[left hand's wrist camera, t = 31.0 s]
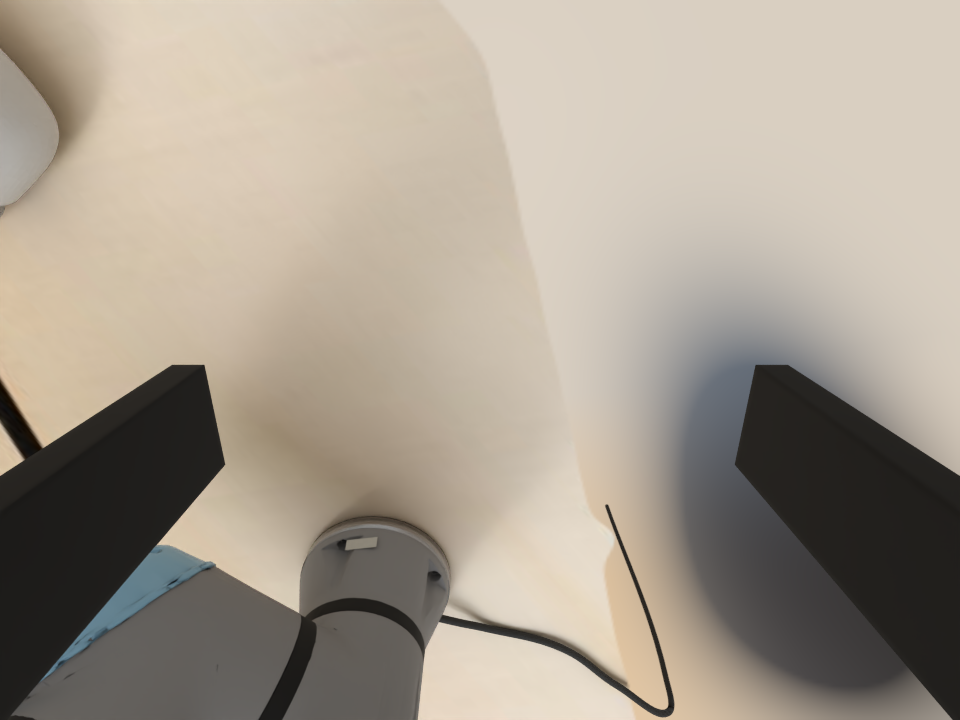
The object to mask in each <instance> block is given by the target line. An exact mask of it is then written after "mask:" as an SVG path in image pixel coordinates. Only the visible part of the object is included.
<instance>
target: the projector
mask: <svg viewBox="0 0 960 720" xmlns="http://www.w3.org/2000/svg"><path fill="white" fill-rule="evenodd" d="M58 142H59V130H58V124H57V121H56V119H55V117H54V115H53V113H52V111H51V109H50V107H49V106H48V104H47V103H46V102H45V100H44V99H43V97H42V96H41V94H40V93H39V92H38V91H37V89H36V88H35V87H34V85H33V84H32V83H31V82H30V80H29V79H28V78H27V77H26V76H25V75H24V74H23V72H22V71H21V70H20V69H19V68H18V67H17V66H16V64H15V63H14V62H13V61H12V60H11V59H10V58H9V57H8V56H7V55H6V54H5V53H4V52H3V51H2V49H1V48H0V217H1V216H2V214H3V212H4V209H5V205H9V204H12V203H14V202H16V201H17V200H18V199H19V198H20V197H21V196H22V195H23V194H24V193H25V192H26V191H27V190H28V189H29V188H30V187H31V186H32V185H33V184H34V183H35V182H36V181H37V180H38V178H39V177H40V176H41V175H42V174H43V173H44V171H45V170H46V169H47V167H48V166H49V165H50V163H51V161H52V160H53V158H54V155H55V153H56V150H57V147H58Z"/></svg>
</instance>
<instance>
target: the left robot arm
mask: <svg viewBox="0 0 960 720" xmlns="http://www.w3.org/2000/svg"><path fill="white" fill-rule="evenodd" d="M224 465H225V462H224V457H223V452H222V447H221V442H220V438H219V433H218V428H217V423H216V418H215V414H214V409H213V404H212V399H211V394H210V390H209V385H208V380H207V375H206V371H205V366H204V365H171V366H170V367H168V368H167V369H165V370H164V371H162V372H161V373H159V374H157V375H156V376H154V377H153V378H151V379H150V380H148V381H147V382H145V383H143V384H142V385H140V386H139V387H137V388H136V389H134V390H133V391H131V392H130V393H128V394H126V395H125V396H123V397H122V398H120V399H119V400H117V401H116V402H114V403H113V404H111V405H109V406H108V407H106V408H105V409H103V410H102V411H100V412H99V413H97V414H95V415H94V416H92V417H91V418H89V419H88V420H86V421H85V422H83V423H82V424H80V425H78V426H77V427H75V428H74V429H72V430H71V431H69V432H68V433H66V434H65V435H63V436H61V437H60V438H58V439H57V440H55V441H54V442H52V443H51V444H49V445H48V446H46V447H44V448H43V449H41V450H40V451H38V452H37V453H35V454H34V455H32V456H30V457H29V458H27V459H26V460H24V461H23V462H21V463H20V464H18V465H17V466H15V467H13V468H12V469H10V470H9V471H7V472H6V473H4V474H3V475H1V476H0V720H418V711H419V701H420V691H421V682H422V672H423V662H424V654H425V649H426V647H427V645H428V642H429V640H430V638H431V636H432V634H433V632H434V630H435V628H436V626H437V624H438V622H441V623H446V624H450V625H455V626H459V627H464V628H469V629H475V630H480V631H484V632H489V633H493V634H498V635H503V636H508V637H513V638H518V639H523V640H527V641H531V642H535V643H539V644H542V645H545V646H548V647H551V648H554V649H556V650H559V651H561V652H563V653H565V654H567V655H569V656H571V657H573V658H574V659H576V660H578V661H579V662H581V663H582V664H583V665H585V666H586V667H587V668H588V669H590V670H591V671H592V672H593V673H595V674H596V675H597V676H598V677H600V678H601V679H602V680H604V681H605V682H607V683H608V684H609V685H611V686H613V687H614V688H616V689H617V690H619V691H620V692H622V693H623V694H625V695H626V696H627V697H629V698H630V699H631V700H633V701H634V702H635V703H637V704H638V705H639V706H641V707H642V708H644V709H645V710H647V711H648V712H650V713H652V714H653V715H656V716H658V717H668V716H670V715H671V714H672V713H673V711H674V706H675V704H674V697H673V692H672V688H671V685H670V681H669V677H668V673H667V669H666V665H665V660H664V657H663V653H662V650H661V646H660V643H659V639H658V636H657V633H656V630H655V627H654V624H653V621H652V618H651V615H650V612H649V610H648V607H647V604H646V601H645V599H644V596H643V593H642V591H641V588H640V585H639V583H638V580H637V578H636V575H635V573H634V570H633V568H632V565H631V562H630V560H629V558H628V555H627V552H626V550H625V547H624V545H623V542H622V540H621V537H620V535H619V532H618V530H617V527H616V524H615V522H614V519H613V516H612V514H611V511H610V508H609V505H608V504H606V505H605V508H606V510H607V513H608V516H609V519H610V522H611V524H612V527H613V530H614V532H615V535H616V538H617V540H618V543H619V545H620V548H621V551H622V553H623V556H624V558H625V561H626V564H627V566H628V569H629V571H630V574H631V577H632V579H633V582H634V585H635V587H636V590H637V593H638V595H639V598H640V601H641V604H642V607H643V609H644V612H645V615H646V618H647V621H648V624H649V627H650V630H651V634H652V637H653V640H654V644H655V648H656V651H657V655H658V659H659V663H660V667H661V671H662V676H663V680H664V684H665V688H666V692H667V697H668V707H667V709H665V710H660V709H657V708H654V707H653V706H651V705H649V704H648V703H646V702H645V701H643V700H642V699H641V698H639V697H638V696H637V695H635V694H634V693H633V692H631V691H630V690H629V689H627V688H626V687H624V686H623V685H621V684H620V683H618V682H617V681H615V680H614V679H612V678H611V677H609V676H608V675H607V674H605V673H604V672H603V671H601V670H600V669H599V668H598V667H596V666H595V665H594V664H593V663H591V662H590V661H589V660H588V659H586V658H585V657H583V656H582V655H580V654H579V653H577V652H576V651H574V650H572V649H570V648H569V647H566V646H564V645H562V644H560V643H558V642H555V641H552V640H550V639H547V638H544V637H540V636H537V635H533V634H529V633H525V632H520V631H515V630H511V629H505V628H500V627H496V626H491V625H487V624H482V623H478V622H473V621H467V620H463V619H458V618H454V617H449V616H445V615H442V614H443V612H444V610H445V607H446V605H447V602H448V598H449V589H450V569H449V565H448V562H447V559H446V557H445V555H444V553H443V552H442V550H441V549H440V547H439V546H438V545H437V544H436V542H435V541H434V540H433V539H432V538H430V537H429V536H428V535H427V534H425V533H424V532H423V531H421V530H419V529H418V528H416V527H414V526H412V525H410V524H407V523H405V522H402V521H399V520H395V519H391V518H384V517H361V518H355V519H351V520H347V521H344V522H341V523H339V524H337V525H335V526H333V527H331V528H330V529H328V530H327V531H325V532H324V533H323V534H322V535H321V536H320V537H319V538H318V539H317V540H316V541H315V542H314V544H313V545H312V547H311V549H310V551H309V553H308V555H307V557H306V560H305V562H304V564H303V567H302V571H301V578H300V604H299V613H297V612H296V611H294V610H292V609H290V608H288V607H286V606H285V605H283V604H281V603H279V602H277V601H275V600H274V599H272V598H270V597H268V596H266V595H264V594H263V593H261V592H259V591H257V590H255V589H253V588H252V587H250V586H248V585H246V584H245V583H243V582H241V581H239V580H238V579H236V578H234V577H232V576H231V575H229V574H227V573H225V572H224V571H222V570H220V569H219V568H217V567H216V564H214V563H213V562H205V561H203V560H200V559H198V558H196V557H194V556H192V555H189V554H187V553H185V552H183V551H181V550H179V549H177V548H175V547H172V546H168V545H157V544H158V543H159V541H160V540H161V539H162V538H163V537H164V536H165V534H166V533H167V532H168V531H169V530H170V529H171V527H172V526H173V525H174V524H175V523H176V522H177V520H178V519H179V518H180V517H181V516H182V515H183V513H184V512H185V511H186V510H187V509H188V508H189V506H190V505H191V504H192V503H193V502H194V500H195V499H196V498H197V497H198V496H199V495H200V493H201V492H202V491H203V490H204V489H205V488H206V486H207V485H208V484H209V483H210V482H211V481H212V479H213V478H214V477H215V476H216V475H217V474H218V472H219V471H220V470H221V469H222V468H223V467H224ZM735 465H736V467H737V468H738V469H739V470H740V471H741V472H742V474H743V475H744V476H745V477H746V478H747V479H748V481H749V482H750V483H751V484H752V485H753V486H754V488H755V489H756V490H757V491H758V492H759V493H760V495H761V496H762V497H763V498H764V499H765V500H766V502H767V503H768V504H769V505H770V506H771V507H772V509H773V510H774V511H775V512H776V513H777V515H778V516H779V517H780V518H781V519H782V520H783V522H784V523H785V524H786V525H787V526H788V527H789V529H790V530H791V531H792V532H793V533H794V534H795V536H796V537H797V538H798V539H799V540H800V541H801V543H802V544H803V545H804V546H805V547H806V548H807V550H808V551H809V552H810V553H811V554H812V556H813V557H814V558H815V559H816V560H817V561H818V563H819V564H820V565H821V566H822V567H823V568H824V570H825V571H826V572H827V573H828V574H829V575H830V577H831V578H832V579H833V580H834V581H835V582H836V584H837V585H838V586H839V587H840V588H841V589H842V591H843V592H844V593H845V594H846V595H847V597H848V598H849V599H850V600H851V601H852V602H853V603H854V605H855V606H856V607H857V608H858V609H859V611H860V612H861V613H862V614H863V615H864V616H865V618H866V619H867V620H868V621H869V622H870V623H871V624H872V626H873V627H874V628H875V629H876V630H877V632H878V633H879V634H880V635H881V636H882V638H883V639H884V640H885V641H886V642H887V643H888V645H889V646H890V647H891V648H892V649H893V650H894V652H895V653H896V654H897V655H898V656H899V657H900V659H901V660H902V661H903V662H904V663H905V664H906V666H907V667H908V668H909V669H910V670H911V671H912V673H913V674H914V675H915V676H916V677H917V678H918V680H919V681H920V682H921V683H922V684H923V686H924V687H925V688H926V689H927V690H928V691H929V693H930V694H931V695H932V696H933V697H934V698H935V700H936V701H937V702H938V703H939V704H940V705H941V707H942V708H943V709H944V710H945V711H946V712H947V714H948V715H949V716H950V717H951V718H952V719H953V720H960V476H959V475H957V474H956V473H954V472H953V471H951V470H950V469H948V468H946V467H945V466H943V465H942V464H940V463H939V462H937V461H936V460H934V459H933V458H931V457H929V456H928V455H926V454H925V453H923V452H922V451H920V450H919V449H917V448H916V447H914V446H912V445H911V444H909V443H908V442H906V441H905V440H903V439H902V438H900V437H899V436H897V435H895V434H894V433H892V432H891V431H889V430H888V429H886V428H885V427H883V426H881V425H880V424H878V423H877V422H875V421H874V420H872V419H871V418H869V417H868V416H866V415H864V414H863V413H861V412H860V411H858V410H857V409H855V408H854V407H852V406H850V405H849V404H847V403H846V402H844V401H843V400H841V399H840V398H838V397H837V396H835V395H834V394H832V393H830V392H829V391H827V390H826V389H824V388H823V387H821V386H820V385H818V384H816V383H815V382H813V381H812V380H810V379H809V378H807V377H806V376H804V375H803V374H801V373H799V372H798V371H796V370H795V369H793V368H792V367H790V366H789V365H756V366H755V370H754V375H753V380H752V385H751V390H750V394H749V399H748V404H747V409H746V414H745V419H744V423H743V428H742V433H741V438H740V442H739V447H738V452H737V457H736V462H735Z"/></svg>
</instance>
